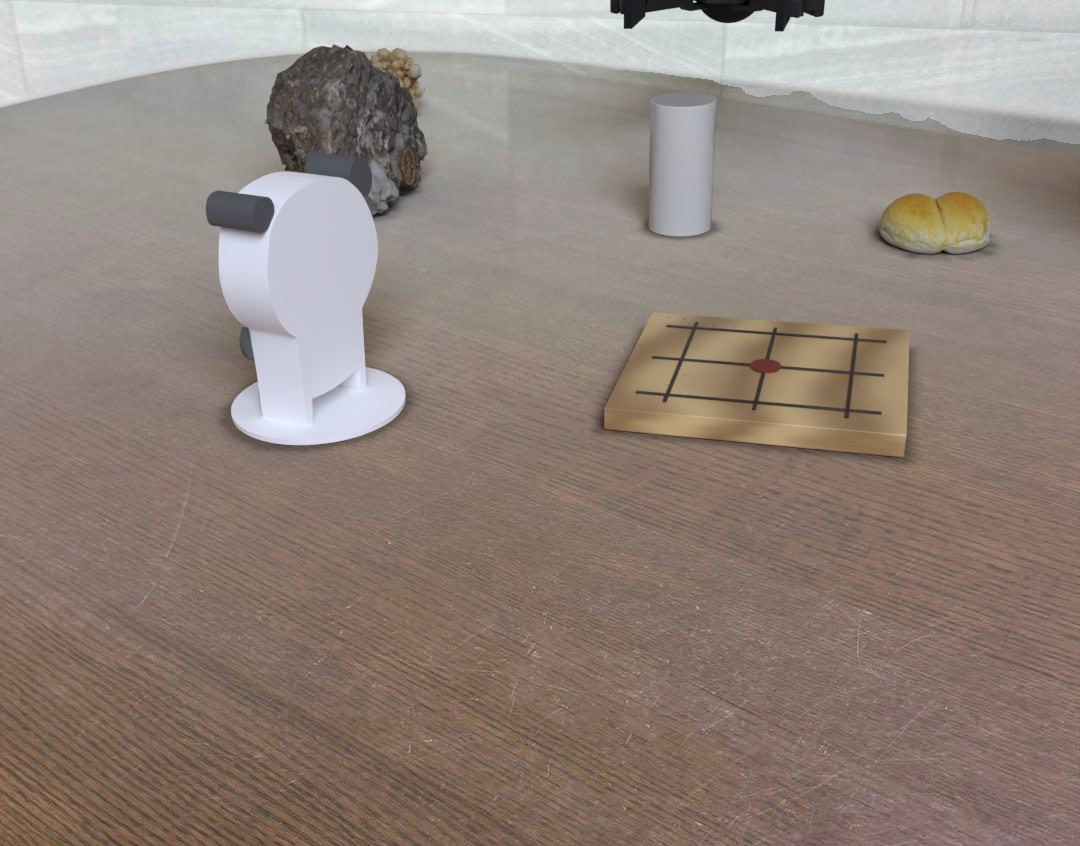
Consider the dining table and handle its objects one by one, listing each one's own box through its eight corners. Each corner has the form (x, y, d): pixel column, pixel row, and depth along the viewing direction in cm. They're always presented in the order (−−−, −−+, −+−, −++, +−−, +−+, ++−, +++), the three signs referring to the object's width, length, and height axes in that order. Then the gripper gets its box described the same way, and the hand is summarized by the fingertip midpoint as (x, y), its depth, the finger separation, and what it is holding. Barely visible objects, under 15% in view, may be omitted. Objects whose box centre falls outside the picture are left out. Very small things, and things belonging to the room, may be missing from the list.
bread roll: (875, 225, 107) (880, 179, 104) (981, 227, 105) (988, 181, 103) (880, 256, 100) (886, 208, 98) (993, 259, 98) (1002, 211, 96)
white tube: (715, 218, 109) (721, 92, 104) (706, 238, 105) (711, 108, 99) (654, 215, 111) (657, 91, 105) (642, 235, 106) (644, 106, 100)
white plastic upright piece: (308, 355, 86) (277, 141, 78) (443, 382, 81) (425, 157, 73) (195, 424, 77) (147, 190, 69) (339, 459, 73) (305, 213, 65)
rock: (400, 23, 103) (260, -17, 108) (328, 175, 102) (190, 127, 107) (469, 130, 120) (346, 91, 125) (409, 260, 119) (287, 216, 124)
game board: (907, 350, 84) (910, 328, 83) (903, 457, 71) (907, 433, 70) (651, 331, 88) (651, 310, 87) (603, 429, 75) (603, 406, 74)
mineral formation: (436, 108, 150) (384, 129, 137) (342, 122, 154) (284, 143, 142) (422, 39, 146) (368, 54, 134) (326, 55, 151) (266, 72, 139)
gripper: (853, 19, 123) (841, 61, 106) (615, 15, 129) (567, 55, 112) (862, -62, 119) (851, -32, 102) (615, -62, 125) (566, -34, 108)
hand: (702, 14), depth 107 cm, fingers open, 13 cm apart
